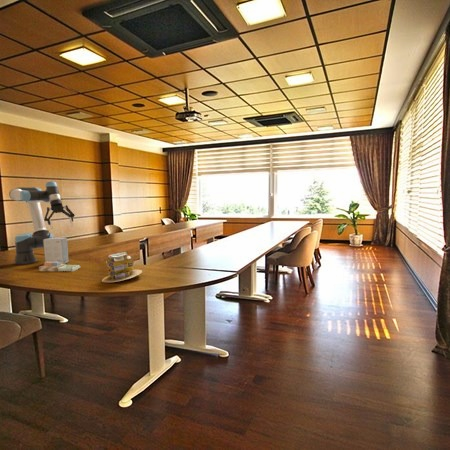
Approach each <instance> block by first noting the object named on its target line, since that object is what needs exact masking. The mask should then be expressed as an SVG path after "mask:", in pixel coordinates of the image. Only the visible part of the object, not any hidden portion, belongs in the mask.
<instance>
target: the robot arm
mask: <svg viewBox="0 0 450 450" xmlns="http://www.w3.org/2000/svg"><path fill="white" fill-rule="evenodd" d="M45 188H46V189H45V190H42V189H41V188H40V187H35V186H33V187H32V186H31V187H23V186H21V187H14V188H12V189H10V191H9V192H8V195H9V197H10V199H11V200H13V201H17V202H25V204H26V205H28V207H29V212H30V216H31V221H32V226H33V230H34V231H33V232H26V233H21V234H17V235H15V237H14V246H15V256H14V259H13V260H14V261H13V264H14V265H31V264H33V263H34V264H35V263H37V257H36V256H35V254H34V253H35V252H34V249H42V248H43V249H44V243H43V240H44V239H49V238H54V236H53V233H52V232H50V230H53V228H54V227H53V223H52V219H51V218H52V217H53V216H54V214H64V215H65V216H67V217H68V219H69V223H70V226H71V227H73V226H74V223H73V222H74V218H75V216H76V214H74V212H72V210H71V209H70V208H69V206H68V205H65V206H64V205H63V201H62V200H61V195H60V191H59V187H58V183H57V182H56V181H52V180H51V181H46V183H45ZM42 202H43V203H50V204H49V205H50V207H49V206H48V207H46V213H45V215H44V213H43V209H42V205H41V204H42ZM50 211H52V212H51V213H50V215H49V212H50ZM48 215H49V216H48ZM45 221H46V222H47V225H48V226H50V230H48V229H47V227H46V222H45Z"/></svg>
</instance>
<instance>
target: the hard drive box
mask: <svg viewBox="0 0 450 450" xmlns="http://www.w3.org/2000/svg"><path fill="white" fill-rule="evenodd" d="M43 243H44V247H43V252H44V263H45V262H48V261H54V262H55V261H57V262H61V264H67V263H69V262H70V261H69V249H68V238H66V237H53V238H49V239H44V240H43Z"/></svg>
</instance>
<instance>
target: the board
mask: <svg viewBox="0 0 450 450" xmlns="http://www.w3.org/2000/svg"><path fill="white" fill-rule="evenodd" d="M65 265H67V263H65V264H61V265H60V266H44V264H43V265H41V266H38V272H59V271H58V268H59V267H62V266H65Z"/></svg>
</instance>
